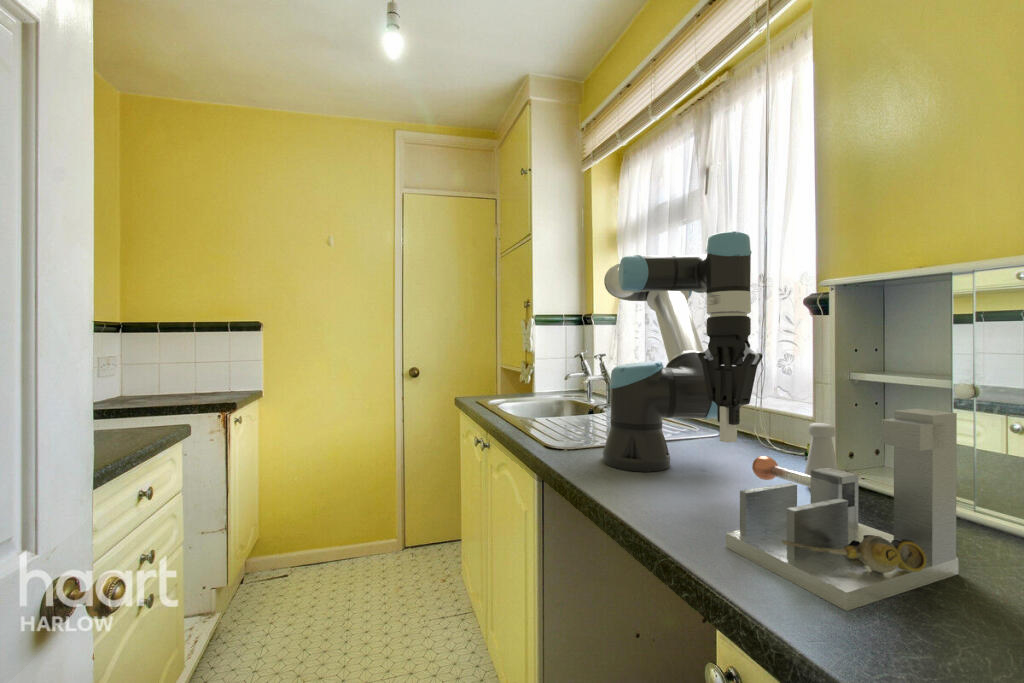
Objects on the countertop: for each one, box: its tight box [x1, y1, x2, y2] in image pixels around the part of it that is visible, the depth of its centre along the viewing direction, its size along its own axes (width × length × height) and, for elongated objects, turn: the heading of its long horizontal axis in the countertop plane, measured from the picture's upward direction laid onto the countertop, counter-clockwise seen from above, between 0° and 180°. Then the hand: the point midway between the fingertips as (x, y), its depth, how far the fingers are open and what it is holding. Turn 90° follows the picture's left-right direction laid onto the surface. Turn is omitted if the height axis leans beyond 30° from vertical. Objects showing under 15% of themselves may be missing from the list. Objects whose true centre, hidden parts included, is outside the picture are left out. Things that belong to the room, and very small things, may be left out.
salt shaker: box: [804, 422, 839, 491], centre depth 86 cm, size 6×6×13 cm
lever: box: [751, 455, 845, 496], centre depth 73 cm, size 14×4×4 cm, turn 21°
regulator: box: [782, 535, 927, 573], centre depth 54 cm, size 8×4×15 cm
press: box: [725, 408, 959, 612], centre depth 59 cm, size 16×21×20 cm
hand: (728, 441), depth 85 cm, fingers closed
